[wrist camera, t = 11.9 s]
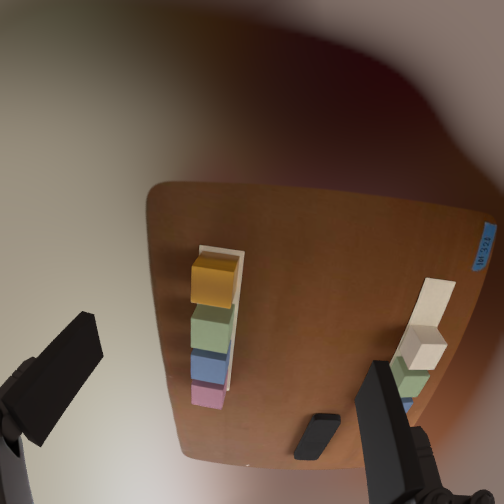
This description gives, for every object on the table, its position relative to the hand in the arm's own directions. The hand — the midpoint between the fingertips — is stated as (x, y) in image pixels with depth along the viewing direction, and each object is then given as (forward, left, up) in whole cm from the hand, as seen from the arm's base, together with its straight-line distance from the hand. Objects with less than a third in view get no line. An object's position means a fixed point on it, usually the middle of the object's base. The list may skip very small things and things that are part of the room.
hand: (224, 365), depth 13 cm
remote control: (+21, +34, -22) cm, 45 cm away
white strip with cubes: (-2, +28, -22) cm, 36 cm away
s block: (+7, 0, -21) cm, 23 cm away
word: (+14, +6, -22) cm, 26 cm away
